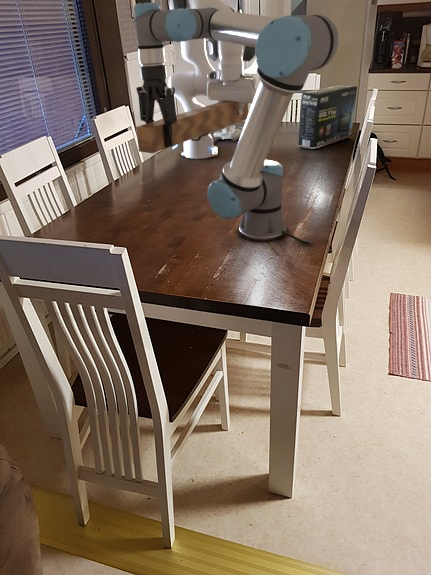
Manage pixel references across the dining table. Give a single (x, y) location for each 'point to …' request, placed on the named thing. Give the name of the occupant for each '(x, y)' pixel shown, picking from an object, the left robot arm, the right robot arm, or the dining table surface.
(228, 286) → the dining table surface
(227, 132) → the fossil
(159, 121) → the bar
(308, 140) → the router box
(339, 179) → the dining table surface
